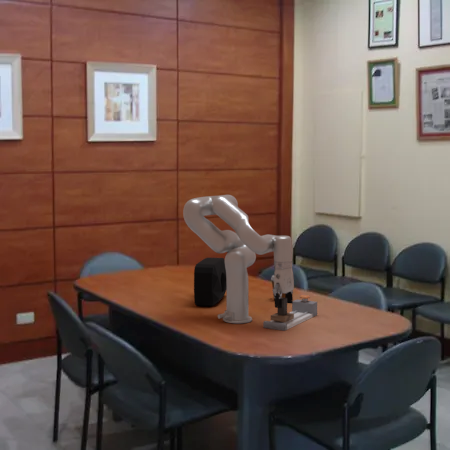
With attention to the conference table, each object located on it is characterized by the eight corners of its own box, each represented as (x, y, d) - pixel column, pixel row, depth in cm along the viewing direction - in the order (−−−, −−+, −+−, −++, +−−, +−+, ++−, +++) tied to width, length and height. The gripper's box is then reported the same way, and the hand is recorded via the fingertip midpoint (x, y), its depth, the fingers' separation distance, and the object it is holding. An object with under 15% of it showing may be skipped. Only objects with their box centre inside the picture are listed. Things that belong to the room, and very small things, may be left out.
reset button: (307, 302, 316) (307, 297, 316) (298, 301, 319) (298, 296, 318) (311, 300, 320) (311, 295, 320) (302, 299, 322) (302, 294, 322)
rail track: (284, 330, 292) (284, 316, 292) (263, 327, 298) (263, 313, 297) (317, 314, 320) (317, 301, 319) (297, 312, 325) (297, 299, 324)
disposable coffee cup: (274, 303, 344) (274, 278, 343) (268, 298, 353) (268, 275, 352) (292, 301, 347) (293, 277, 345) (286, 297, 356) (286, 274, 354)
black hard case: (208, 294, 364) (207, 255, 362) (231, 295, 362) (231, 256, 359) (193, 307, 335) (193, 265, 332) (219, 308, 332) (218, 266, 330)
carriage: (285, 322, 296) (285, 301, 295) (270, 320, 300) (270, 299, 299) (293, 318, 303) (294, 297, 302) (279, 316, 306) (279, 295, 305)
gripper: (281, 268, 289) (282, 310, 291) (300, 262, 304) (300, 302, 306) (265, 267, 293) (266, 308, 295) (284, 261, 308) (285, 300, 309)
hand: (283, 305), depth 300 cm, fingers open, 9 cm apart
